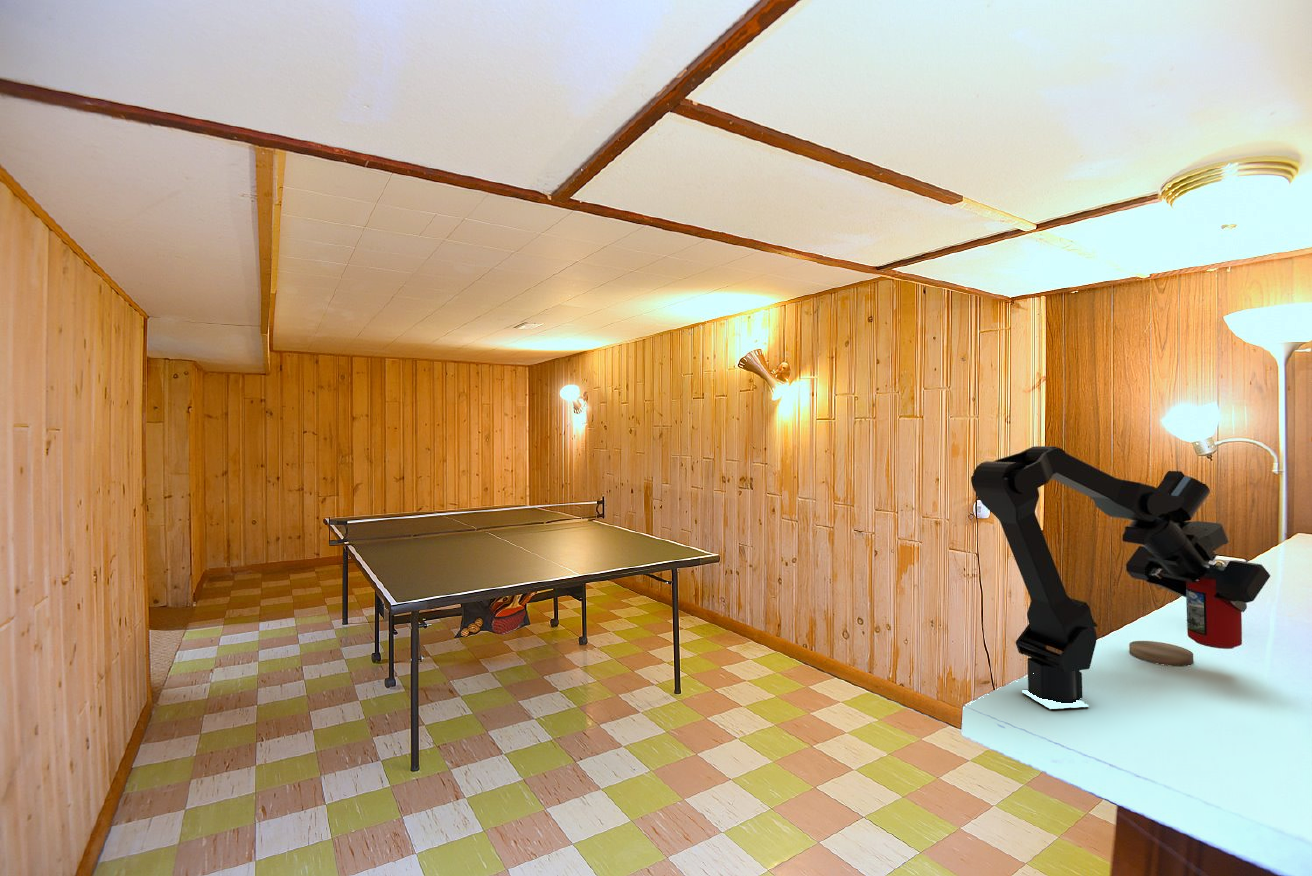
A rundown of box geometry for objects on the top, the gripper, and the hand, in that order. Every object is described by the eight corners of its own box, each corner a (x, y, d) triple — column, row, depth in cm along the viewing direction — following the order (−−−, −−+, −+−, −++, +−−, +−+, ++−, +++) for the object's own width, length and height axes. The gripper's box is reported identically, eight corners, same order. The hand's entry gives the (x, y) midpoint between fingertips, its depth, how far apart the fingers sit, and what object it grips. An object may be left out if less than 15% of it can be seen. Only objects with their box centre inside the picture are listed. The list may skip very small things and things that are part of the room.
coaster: (1185, 670, 103) (1184, 661, 103) (1122, 655, 111) (1121, 647, 111) (1200, 658, 108) (1199, 650, 108) (1138, 645, 116) (1138, 637, 116)
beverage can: (1186, 635, 105) (1184, 567, 105) (1239, 642, 100) (1237, 571, 100) (1188, 645, 99) (1186, 573, 100) (1245, 654, 95) (1243, 579, 95)
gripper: (1259, 512, 90) (1315, 580, 92) (1136, 501, 108) (1185, 558, 111) (1220, 567, 88) (1278, 635, 91) (1102, 546, 107) (1152, 603, 109)
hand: (1219, 604), depth 100 cm, fingers closed on beverage can, 7 cm apart
